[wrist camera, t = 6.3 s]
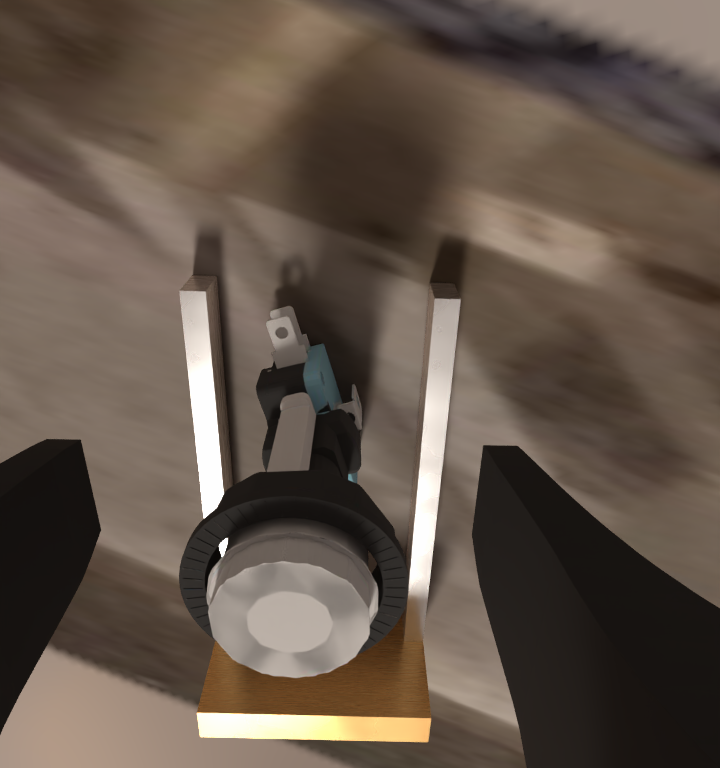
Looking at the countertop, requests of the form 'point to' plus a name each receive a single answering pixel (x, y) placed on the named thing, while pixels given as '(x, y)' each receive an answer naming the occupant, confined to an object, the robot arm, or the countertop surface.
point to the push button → (297, 531)
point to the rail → (405, 641)
